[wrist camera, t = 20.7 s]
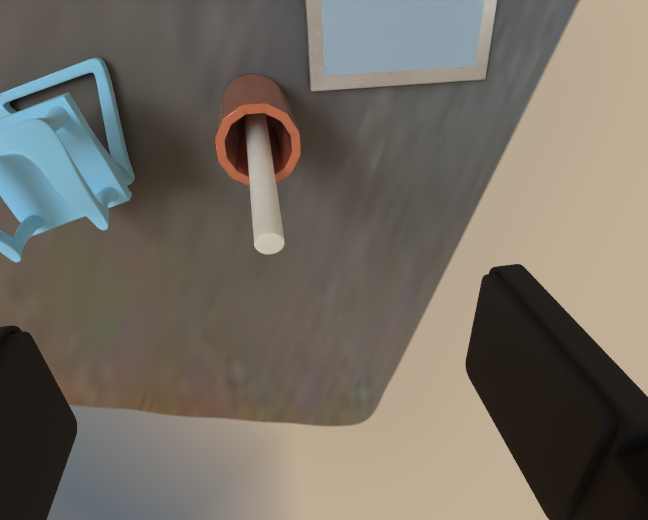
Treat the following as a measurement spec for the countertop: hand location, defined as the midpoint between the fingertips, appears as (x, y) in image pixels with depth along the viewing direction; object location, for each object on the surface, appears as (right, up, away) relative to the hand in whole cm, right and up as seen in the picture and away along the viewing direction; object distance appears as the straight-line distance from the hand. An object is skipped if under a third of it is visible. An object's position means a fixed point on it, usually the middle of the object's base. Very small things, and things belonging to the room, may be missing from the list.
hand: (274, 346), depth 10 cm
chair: (-16, +11, +22) cm, 29 cm away
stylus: (-4, +13, +21) cm, 25 cm away
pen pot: (-4, +13, +22) cm, 26 cm away
